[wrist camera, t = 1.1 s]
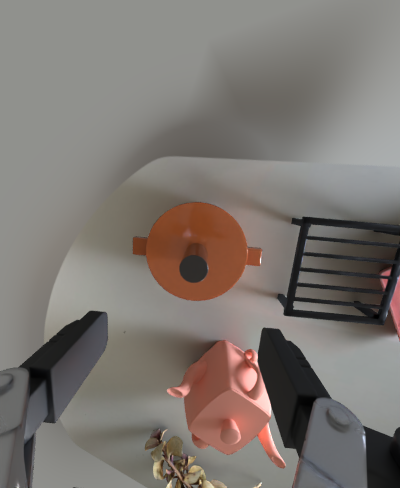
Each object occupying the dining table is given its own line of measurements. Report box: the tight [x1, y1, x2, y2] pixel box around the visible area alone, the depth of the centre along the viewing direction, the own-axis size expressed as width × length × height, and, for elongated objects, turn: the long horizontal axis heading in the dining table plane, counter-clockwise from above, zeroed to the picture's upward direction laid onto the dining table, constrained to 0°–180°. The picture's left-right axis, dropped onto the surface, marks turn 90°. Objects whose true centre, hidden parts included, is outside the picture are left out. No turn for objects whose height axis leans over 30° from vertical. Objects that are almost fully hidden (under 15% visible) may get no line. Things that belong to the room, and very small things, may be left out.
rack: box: [277, 217, 400, 325], centre depth 32 cm, size 16×16×5 cm
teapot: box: [167, 340, 285, 468], centre depth 34 cm, size 15×17×13 cm
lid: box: [146, 202, 248, 301], centre depth 23 cm, size 13×13×7 cm
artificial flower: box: [145, 429, 262, 488], centre depth 42 cm, size 10×14×30 cm
